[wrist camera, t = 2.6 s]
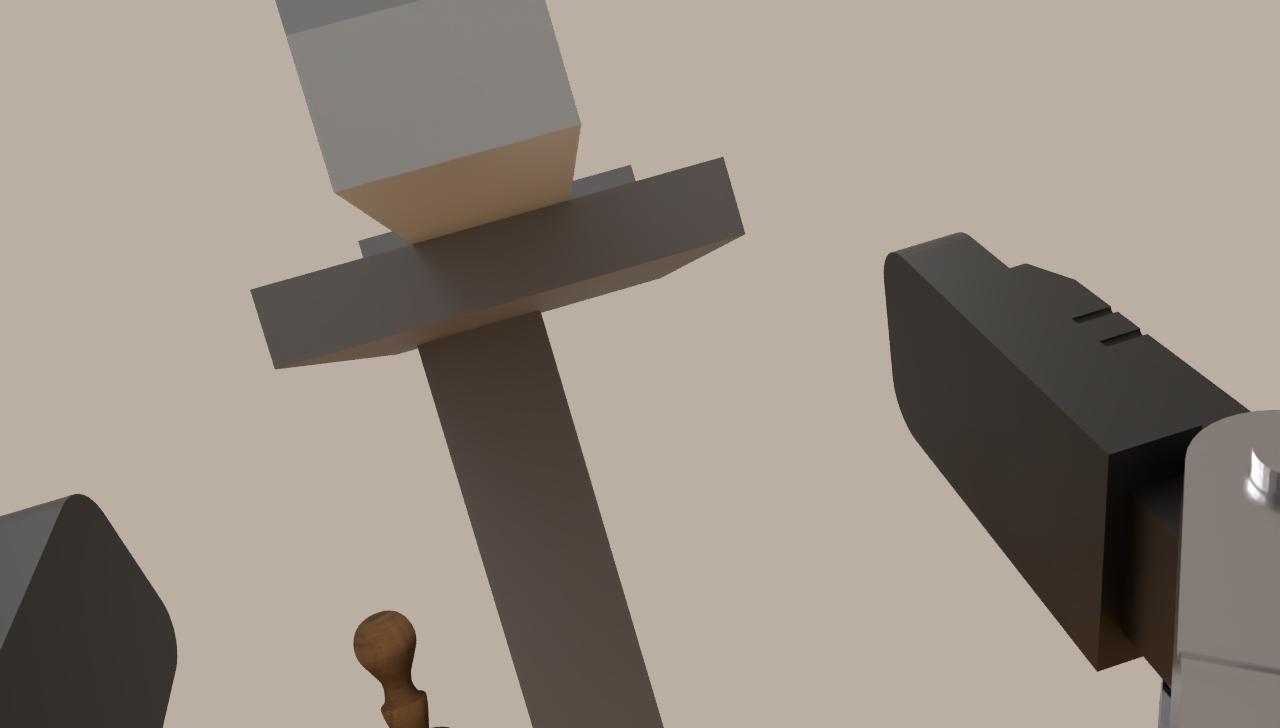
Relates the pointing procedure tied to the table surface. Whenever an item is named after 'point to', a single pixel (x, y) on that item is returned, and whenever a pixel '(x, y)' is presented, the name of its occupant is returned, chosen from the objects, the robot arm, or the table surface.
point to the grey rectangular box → (436, 108)
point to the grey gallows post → (520, 402)
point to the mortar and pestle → (393, 667)
